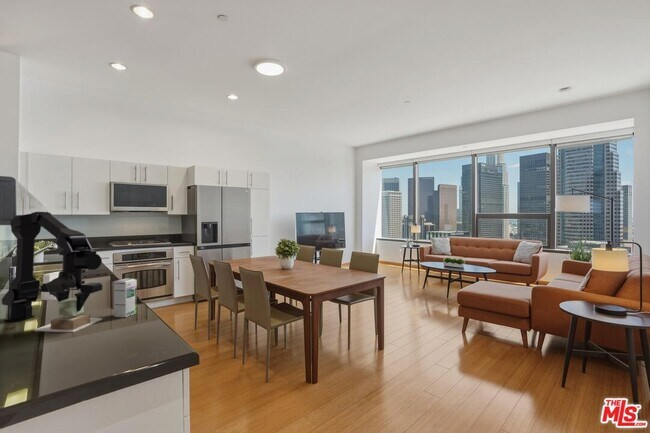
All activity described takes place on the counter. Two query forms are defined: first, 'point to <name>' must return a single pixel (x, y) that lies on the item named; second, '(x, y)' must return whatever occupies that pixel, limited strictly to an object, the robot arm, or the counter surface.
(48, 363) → the counter surface
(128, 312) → the syrup box
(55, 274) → the cylinder with rectangular tab
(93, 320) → the board
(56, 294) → the robot arm
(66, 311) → the sage block
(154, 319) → the counter surface
